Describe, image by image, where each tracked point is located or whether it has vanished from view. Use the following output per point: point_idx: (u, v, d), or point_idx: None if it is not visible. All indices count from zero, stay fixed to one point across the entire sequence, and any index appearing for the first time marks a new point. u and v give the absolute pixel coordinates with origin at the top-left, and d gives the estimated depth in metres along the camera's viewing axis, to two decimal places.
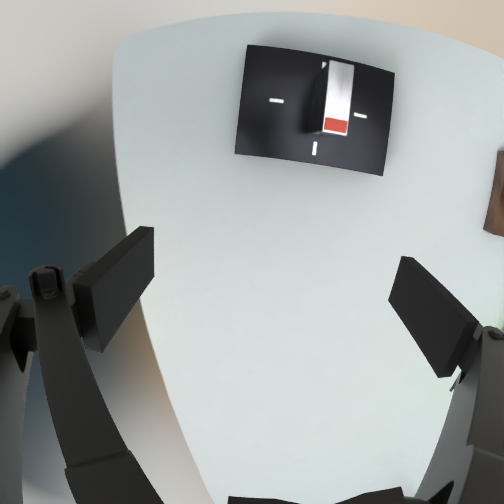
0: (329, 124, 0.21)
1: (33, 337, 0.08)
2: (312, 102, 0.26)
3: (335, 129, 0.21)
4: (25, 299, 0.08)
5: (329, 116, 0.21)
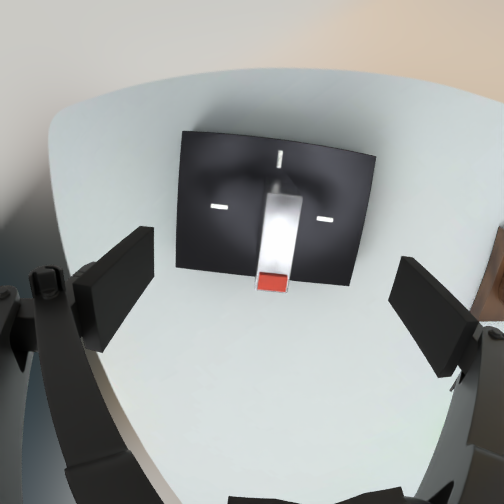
0: (263, 283, 0.18)
1: (33, 337, 0.08)
2: None
3: (271, 288, 0.18)
4: (25, 299, 0.08)
5: (264, 271, 0.18)
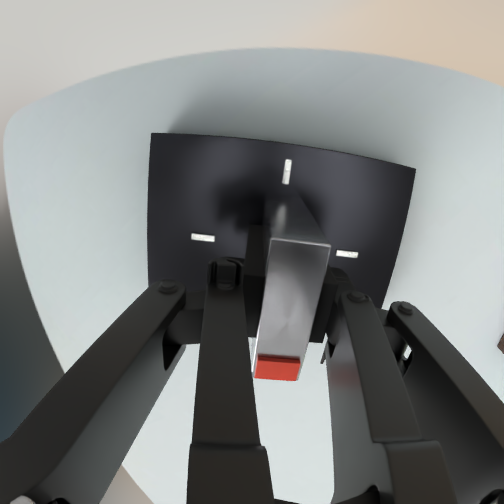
0: (263, 370, 0.11)
1: None
2: None
3: (275, 376, 0.12)
4: None
5: (265, 355, 0.11)
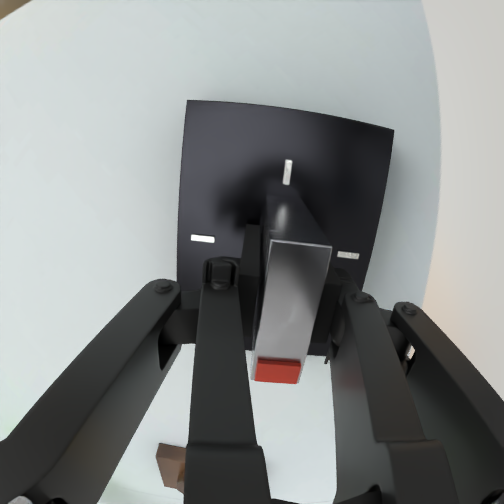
0: (263, 373, 0.11)
1: None
2: (260, 250, 0.17)
3: (275, 379, 0.11)
4: (180, 292, 0.10)
5: (265, 358, 0.11)
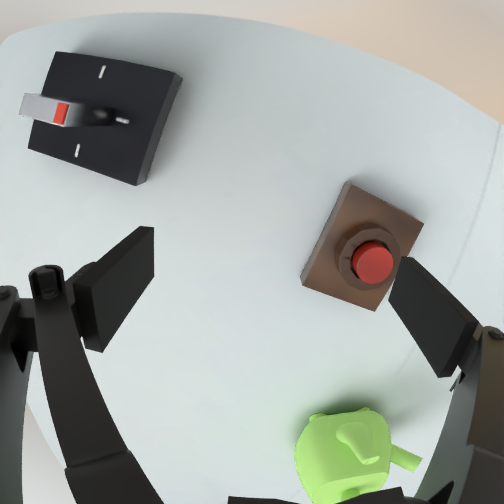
0: (58, 120, 0.18)
1: (33, 337, 0.08)
2: None
3: (63, 114, 0.18)
4: (25, 299, 0.08)
5: (54, 118, 0.19)
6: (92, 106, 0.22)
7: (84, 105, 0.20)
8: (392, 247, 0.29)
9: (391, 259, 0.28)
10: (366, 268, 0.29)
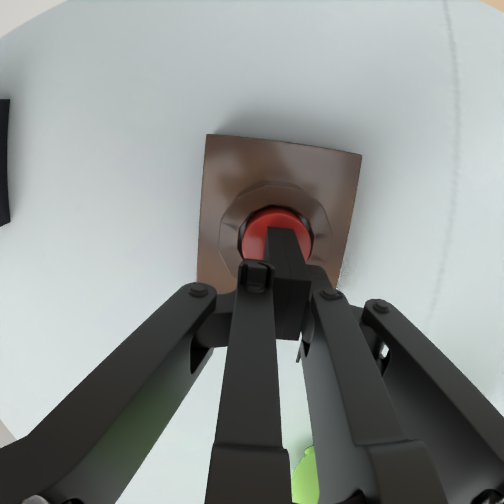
0: None
1: None
2: None
3: None
4: None
5: None
6: None
7: None
8: (306, 210, 0.18)
9: (302, 228, 0.17)
10: (261, 255, 0.18)
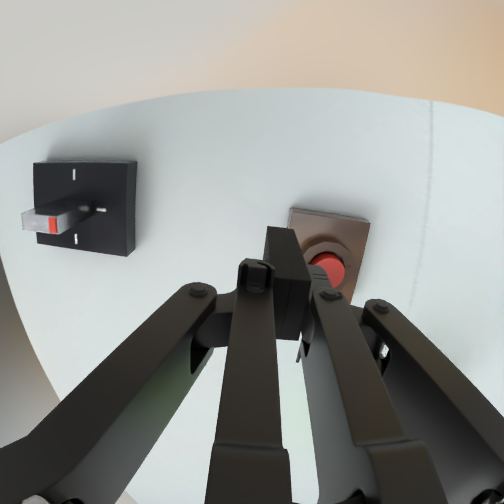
0: (52, 230, 0.28)
1: None
2: None
3: (54, 226, 0.27)
4: None
5: (49, 229, 0.28)
6: (74, 210, 0.31)
7: (68, 212, 0.29)
8: (342, 253, 0.35)
9: (341, 265, 0.34)
10: None
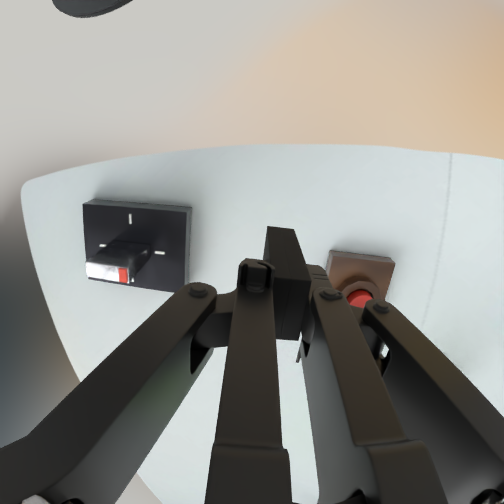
0: (123, 280, 0.33)
1: None
2: None
3: (125, 276, 0.33)
4: None
5: (119, 278, 0.33)
6: (139, 257, 0.36)
7: (135, 261, 0.35)
8: (372, 290, 0.41)
9: None
10: None
